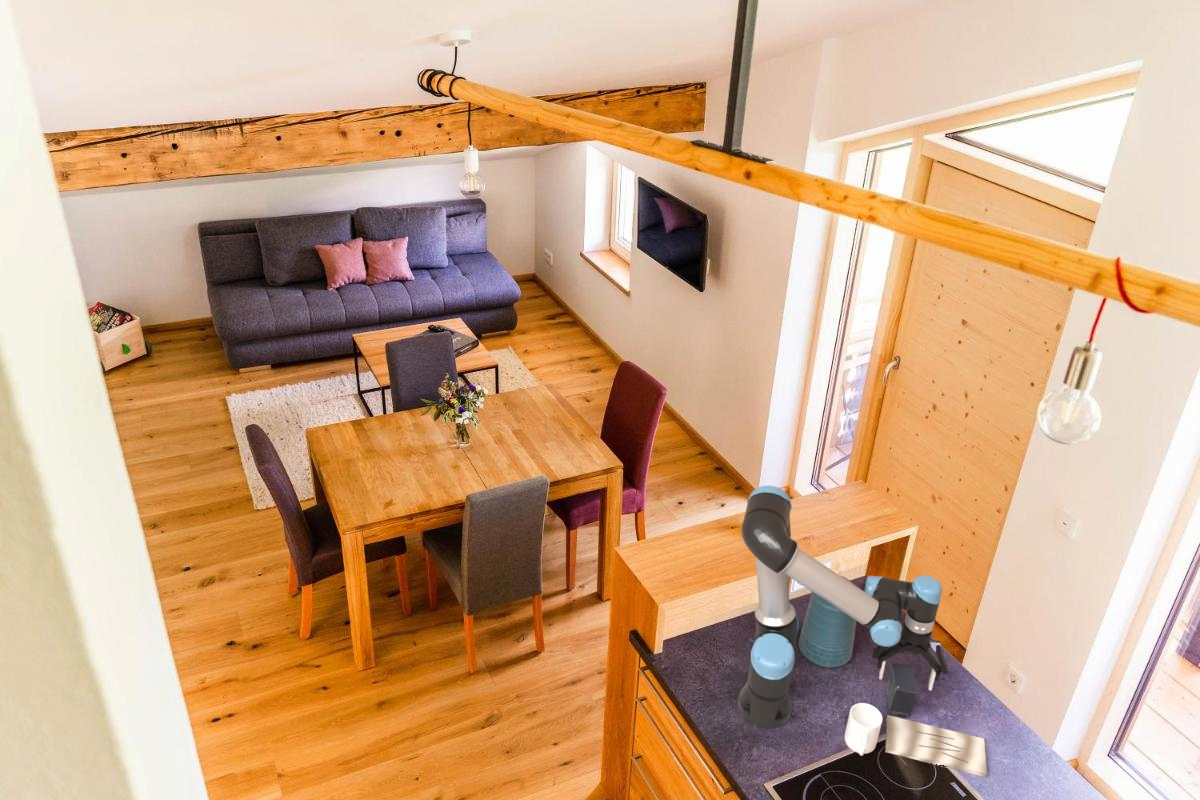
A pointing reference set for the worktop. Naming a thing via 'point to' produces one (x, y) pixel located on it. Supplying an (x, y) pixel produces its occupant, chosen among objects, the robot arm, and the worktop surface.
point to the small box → (901, 690)
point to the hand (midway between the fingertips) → (905, 681)
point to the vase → (827, 633)
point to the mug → (863, 728)
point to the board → (935, 745)
